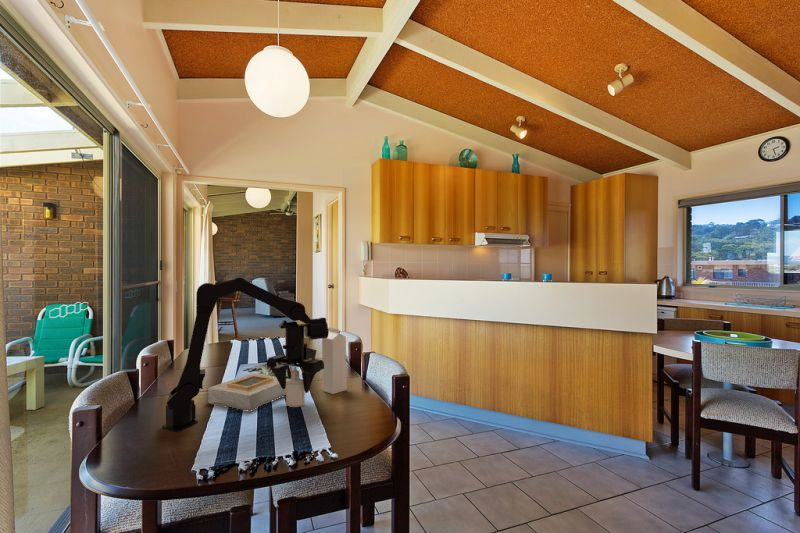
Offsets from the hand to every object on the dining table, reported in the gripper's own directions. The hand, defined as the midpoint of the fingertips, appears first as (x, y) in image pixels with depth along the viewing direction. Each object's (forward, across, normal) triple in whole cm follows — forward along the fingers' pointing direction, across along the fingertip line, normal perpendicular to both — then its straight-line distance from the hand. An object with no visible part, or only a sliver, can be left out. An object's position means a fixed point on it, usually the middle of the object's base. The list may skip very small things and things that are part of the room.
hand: (295, 390), depth 118 cm
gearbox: (+5, +18, -2) cm, 19 cm away
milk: (+5, -3, -17) cm, 18 cm away
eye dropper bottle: (+5, 0, 0) cm, 5 cm away
